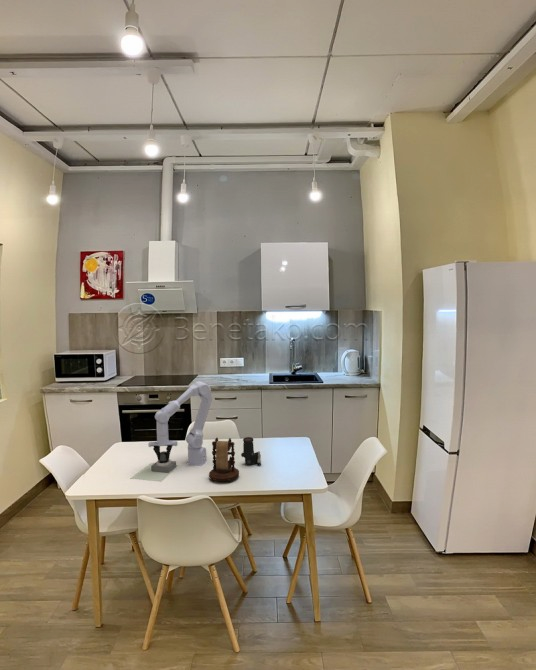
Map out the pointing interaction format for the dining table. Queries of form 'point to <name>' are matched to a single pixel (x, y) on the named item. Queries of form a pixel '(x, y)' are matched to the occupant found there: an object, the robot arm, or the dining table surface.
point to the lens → (163, 457)
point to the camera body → (163, 466)
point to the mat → (151, 474)
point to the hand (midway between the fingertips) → (163, 459)
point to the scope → (250, 452)
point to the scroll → (223, 461)
